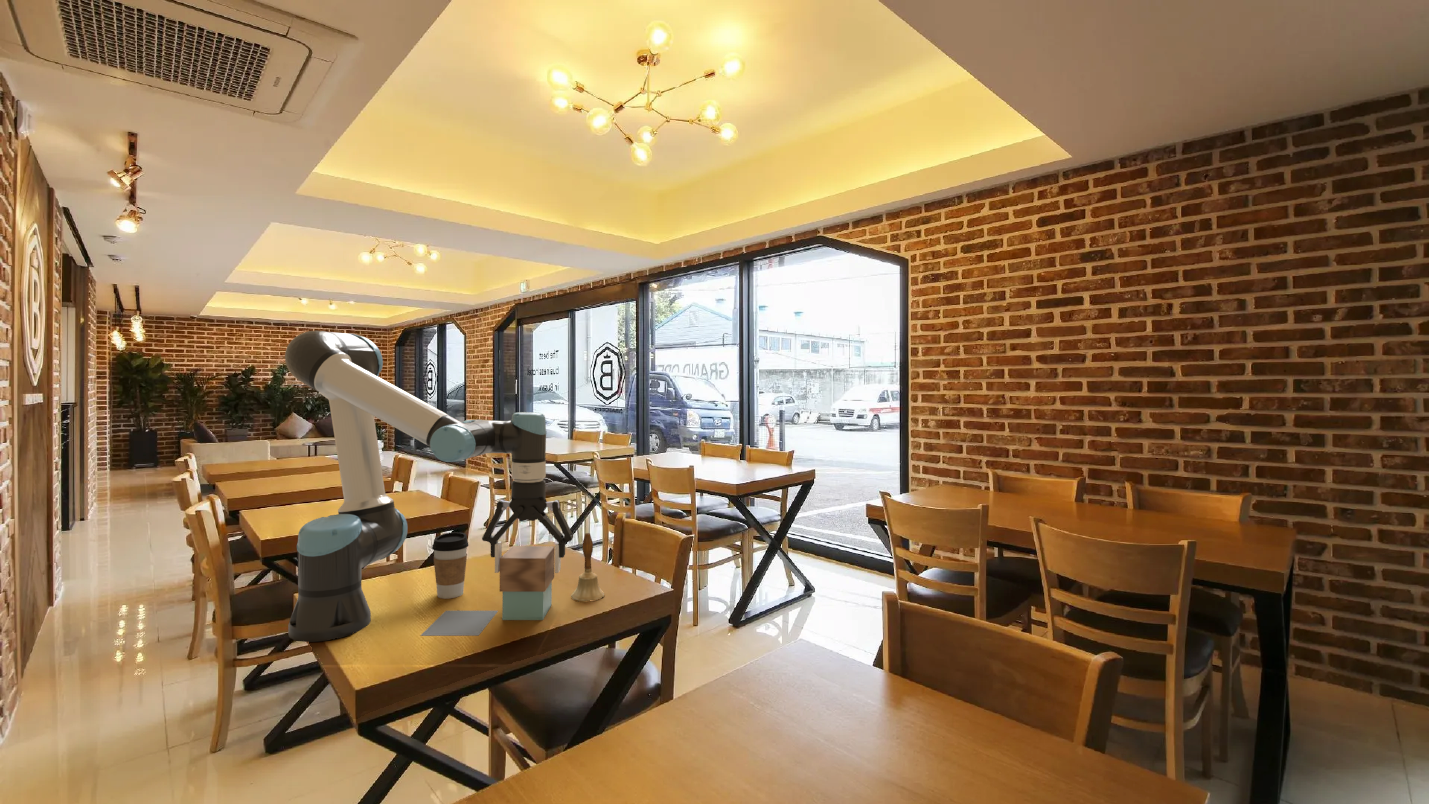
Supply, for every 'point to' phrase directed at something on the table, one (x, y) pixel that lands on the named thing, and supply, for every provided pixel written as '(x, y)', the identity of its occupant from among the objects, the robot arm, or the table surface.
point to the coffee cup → (450, 563)
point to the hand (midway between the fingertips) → (528, 571)
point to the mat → (460, 623)
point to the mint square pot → (526, 605)
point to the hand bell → (587, 576)
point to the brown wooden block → (527, 569)
